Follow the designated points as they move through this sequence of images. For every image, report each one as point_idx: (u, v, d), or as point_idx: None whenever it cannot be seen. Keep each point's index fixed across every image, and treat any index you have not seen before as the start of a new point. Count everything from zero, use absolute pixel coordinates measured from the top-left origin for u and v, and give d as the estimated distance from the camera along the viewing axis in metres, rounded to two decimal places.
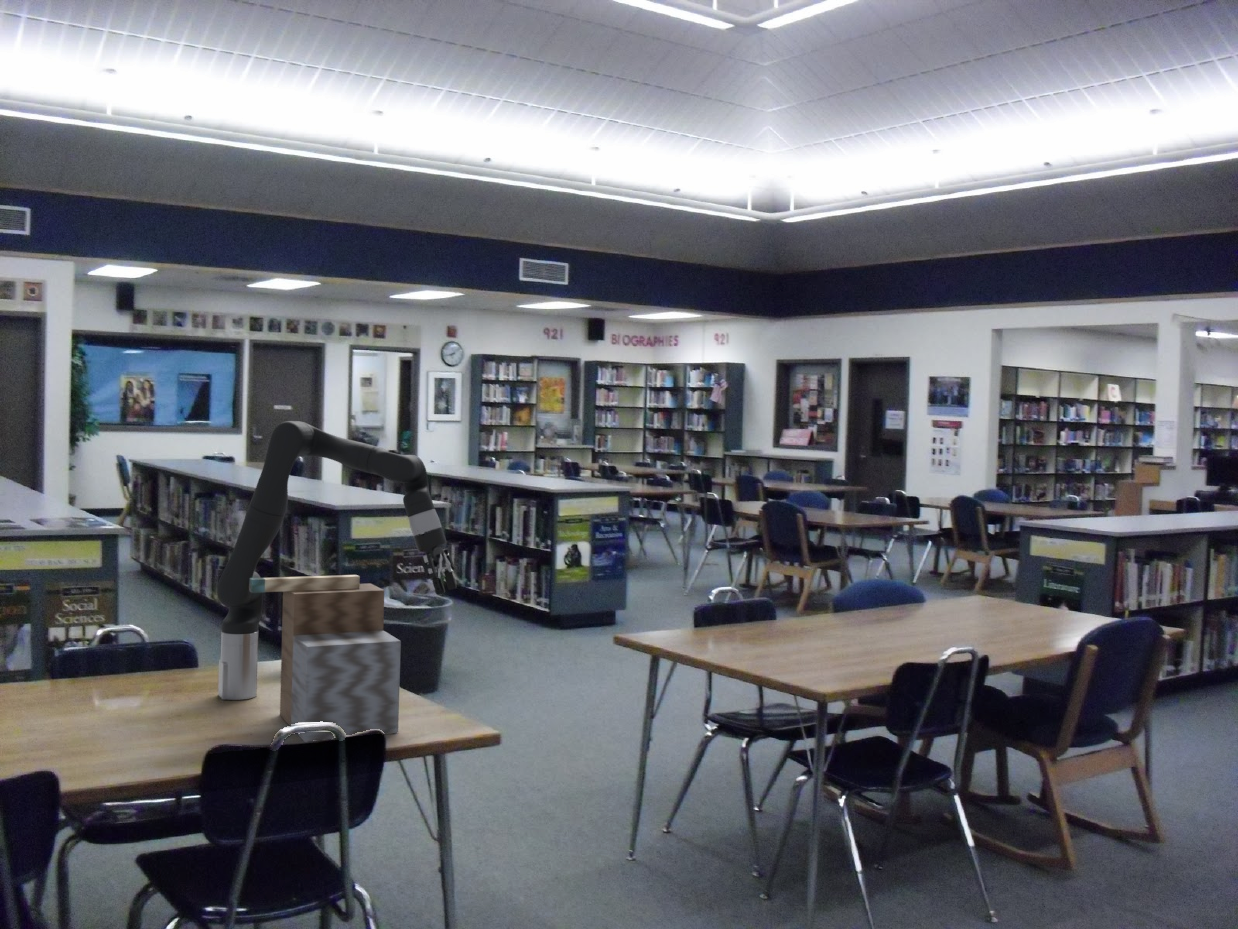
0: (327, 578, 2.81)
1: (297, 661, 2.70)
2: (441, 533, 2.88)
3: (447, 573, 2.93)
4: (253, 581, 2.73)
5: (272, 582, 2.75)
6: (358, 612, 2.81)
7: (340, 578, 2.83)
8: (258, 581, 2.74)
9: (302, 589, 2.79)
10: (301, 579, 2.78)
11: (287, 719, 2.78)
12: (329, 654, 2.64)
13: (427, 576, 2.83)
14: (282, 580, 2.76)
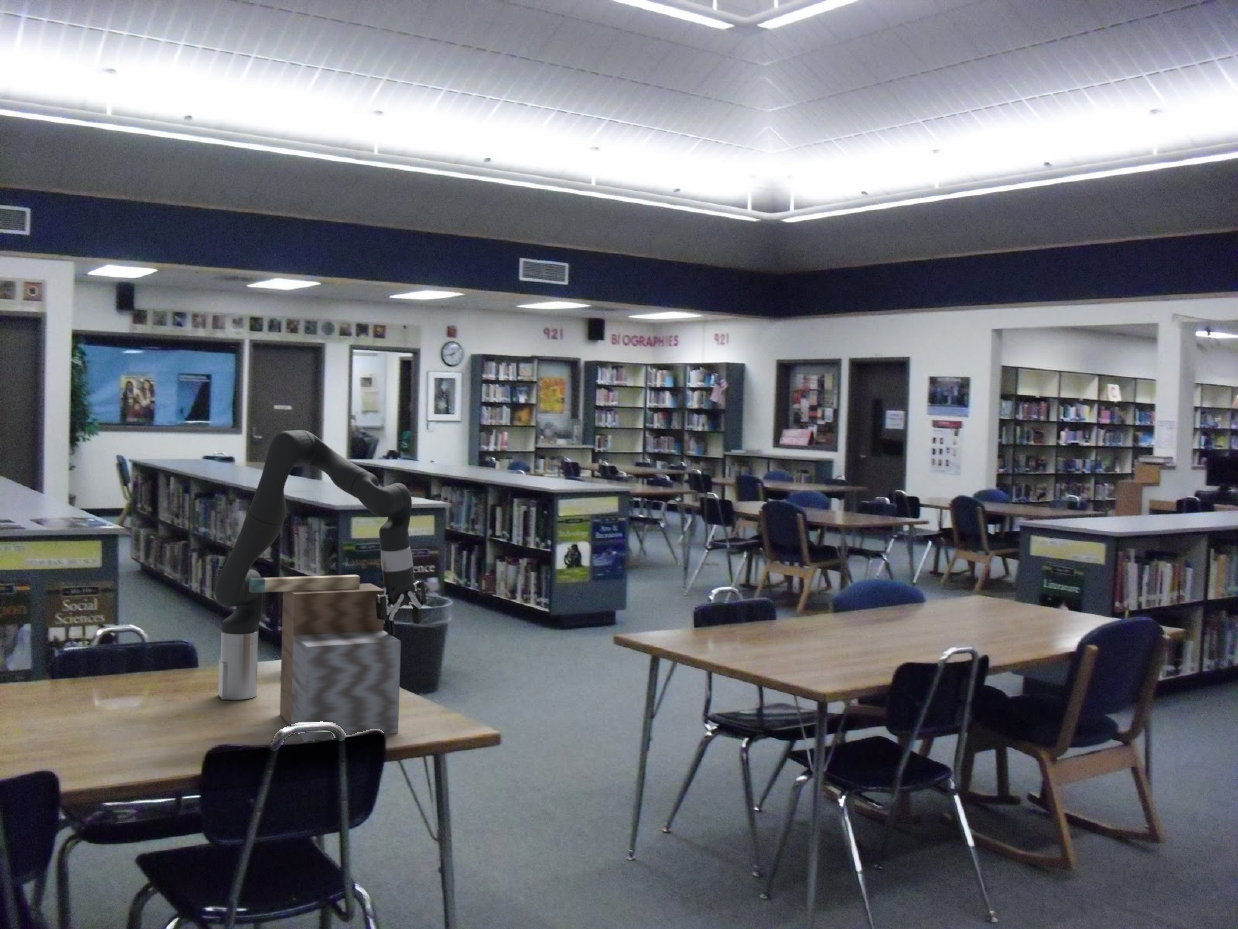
0: (327, 578, 2.81)
1: (297, 661, 2.70)
2: (406, 575, 2.77)
3: (414, 607, 2.85)
4: (253, 581, 2.73)
5: (272, 582, 2.75)
6: (358, 612, 2.81)
7: (340, 578, 2.83)
8: (258, 581, 2.74)
9: (302, 589, 2.79)
10: (301, 579, 2.78)
11: (287, 719, 2.78)
12: (329, 654, 2.64)
13: (377, 616, 2.77)
14: (282, 580, 2.76)
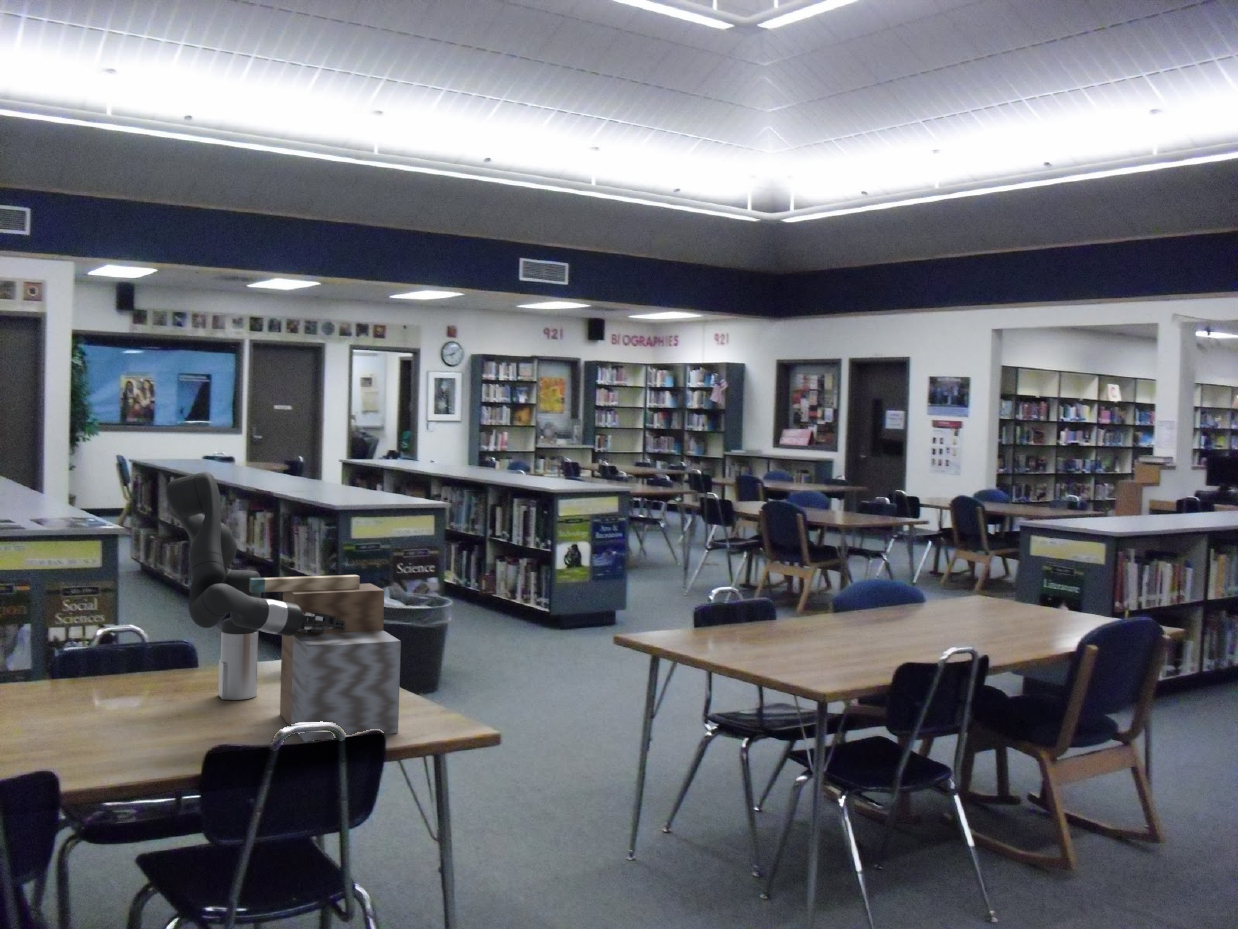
0: (327, 578, 2.81)
1: (297, 661, 2.70)
2: (279, 634, 2.62)
3: None
4: (253, 581, 2.73)
5: (272, 582, 2.75)
6: (358, 612, 2.81)
7: (340, 578, 2.83)
8: (258, 581, 2.74)
9: (302, 589, 2.79)
10: (301, 579, 2.78)
11: (287, 719, 2.78)
12: (329, 654, 2.64)
13: None
14: (282, 580, 2.76)
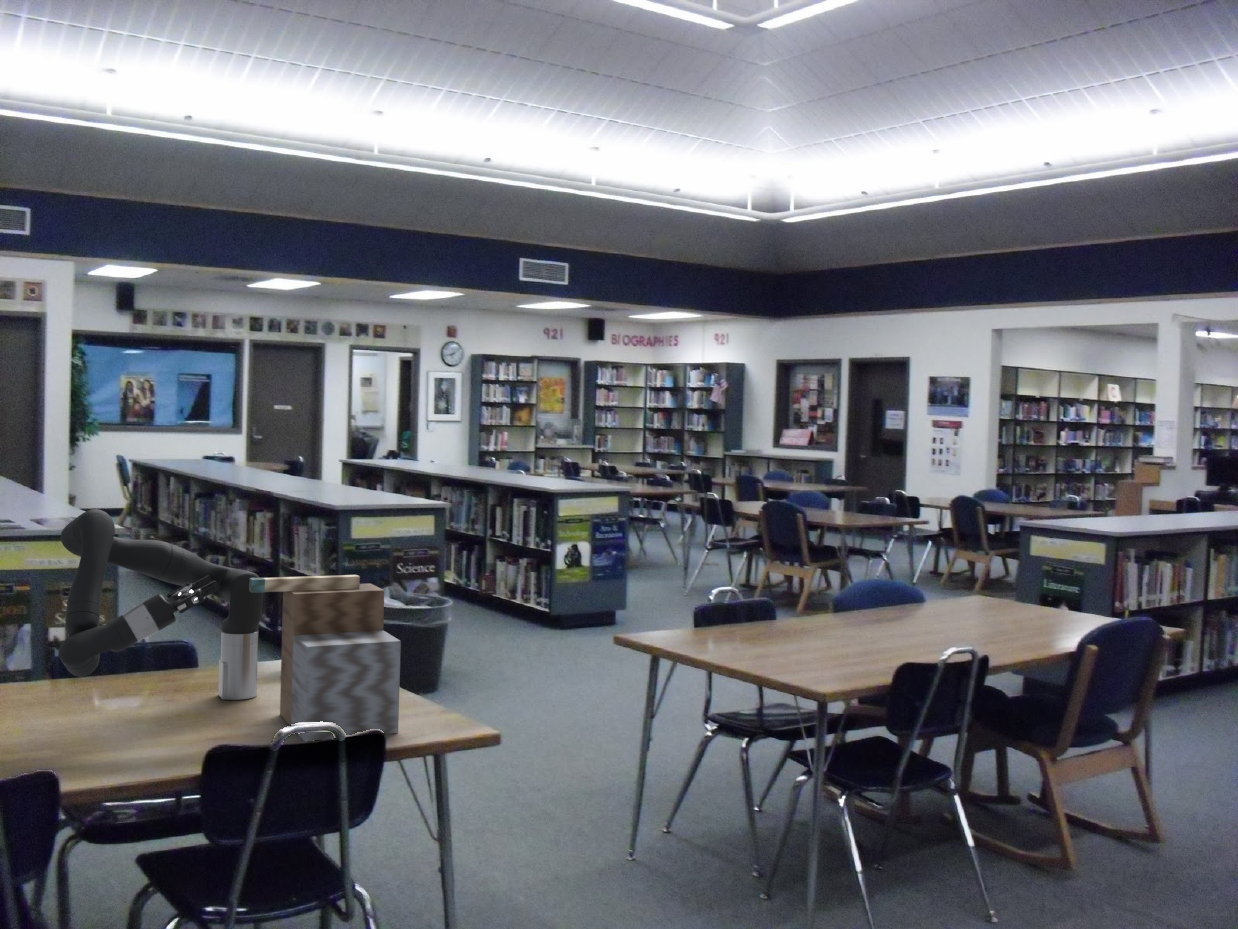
0: (327, 578, 2.81)
1: (297, 661, 2.70)
2: None
3: None
4: (253, 581, 2.73)
5: (272, 582, 2.75)
6: (358, 612, 2.81)
7: (340, 578, 2.83)
8: (258, 581, 2.74)
9: (302, 589, 2.79)
10: (301, 579, 2.78)
11: (287, 719, 2.78)
12: (329, 654, 2.64)
13: None
14: (282, 580, 2.76)
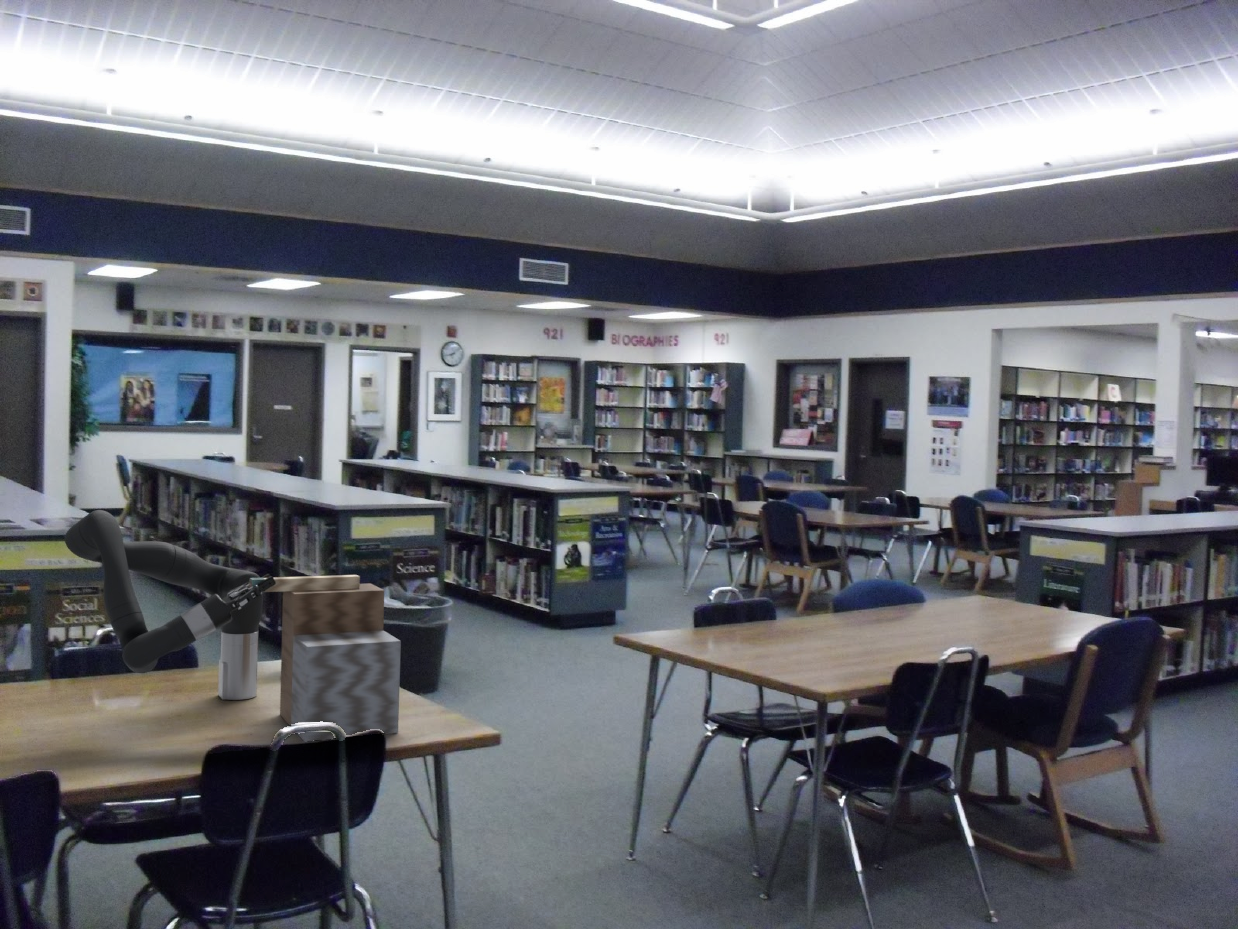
0: (327, 578, 2.81)
1: (297, 661, 2.70)
2: None
3: None
4: (253, 581, 2.73)
5: None
6: (358, 612, 2.81)
7: (340, 578, 2.83)
8: (258, 581, 2.74)
9: (302, 589, 2.79)
10: (301, 579, 2.78)
11: (287, 719, 2.78)
12: (329, 654, 2.64)
13: None
14: (282, 580, 2.76)
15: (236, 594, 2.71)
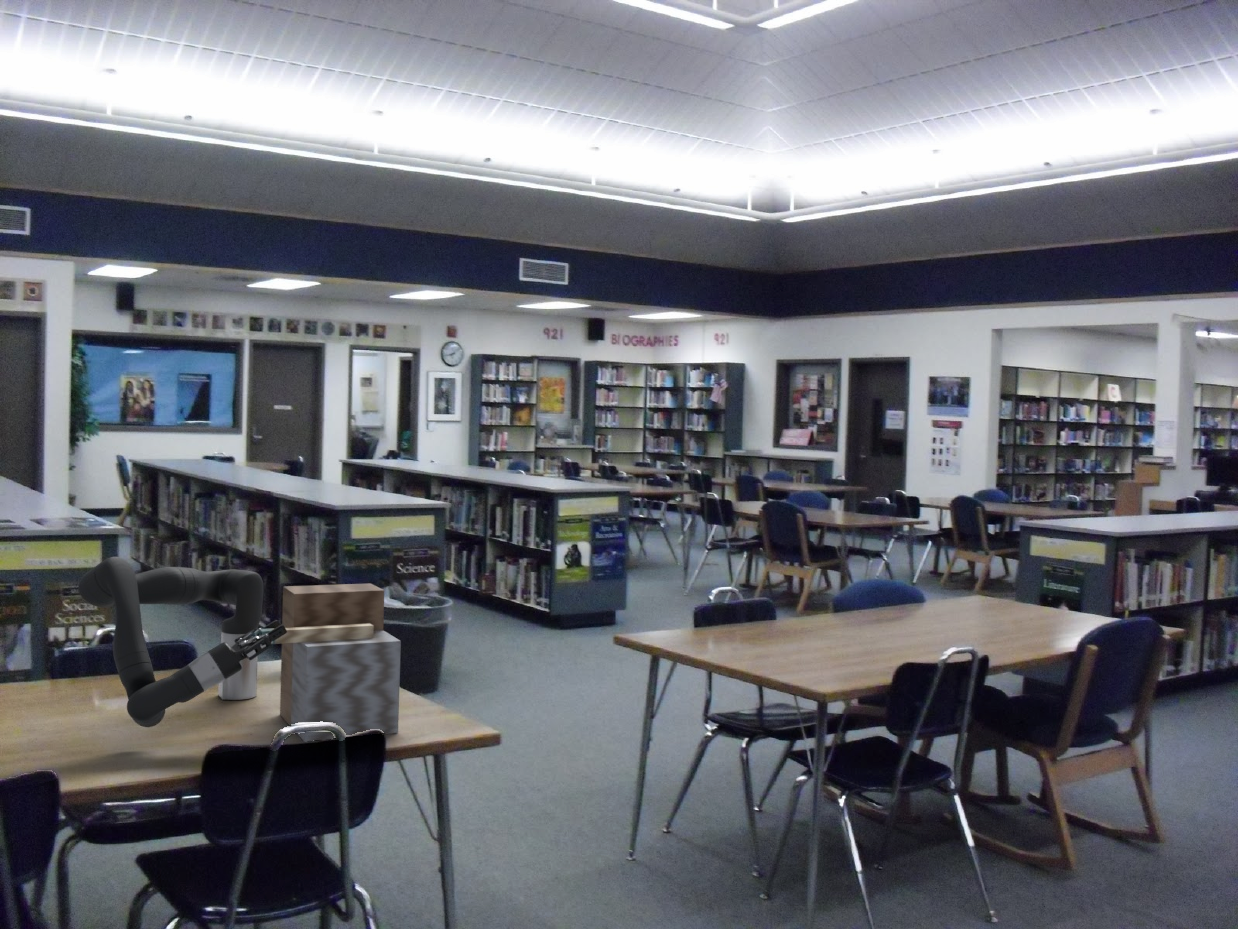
0: (340, 628, 2.70)
1: (297, 661, 2.70)
2: None
3: None
4: (263, 633, 2.62)
5: None
6: (358, 612, 2.81)
7: (353, 628, 2.72)
8: None
9: (314, 640, 2.68)
10: (313, 630, 2.67)
11: (287, 719, 2.78)
12: (329, 654, 2.64)
13: None
14: (293, 631, 2.65)
15: (246, 642, 2.60)
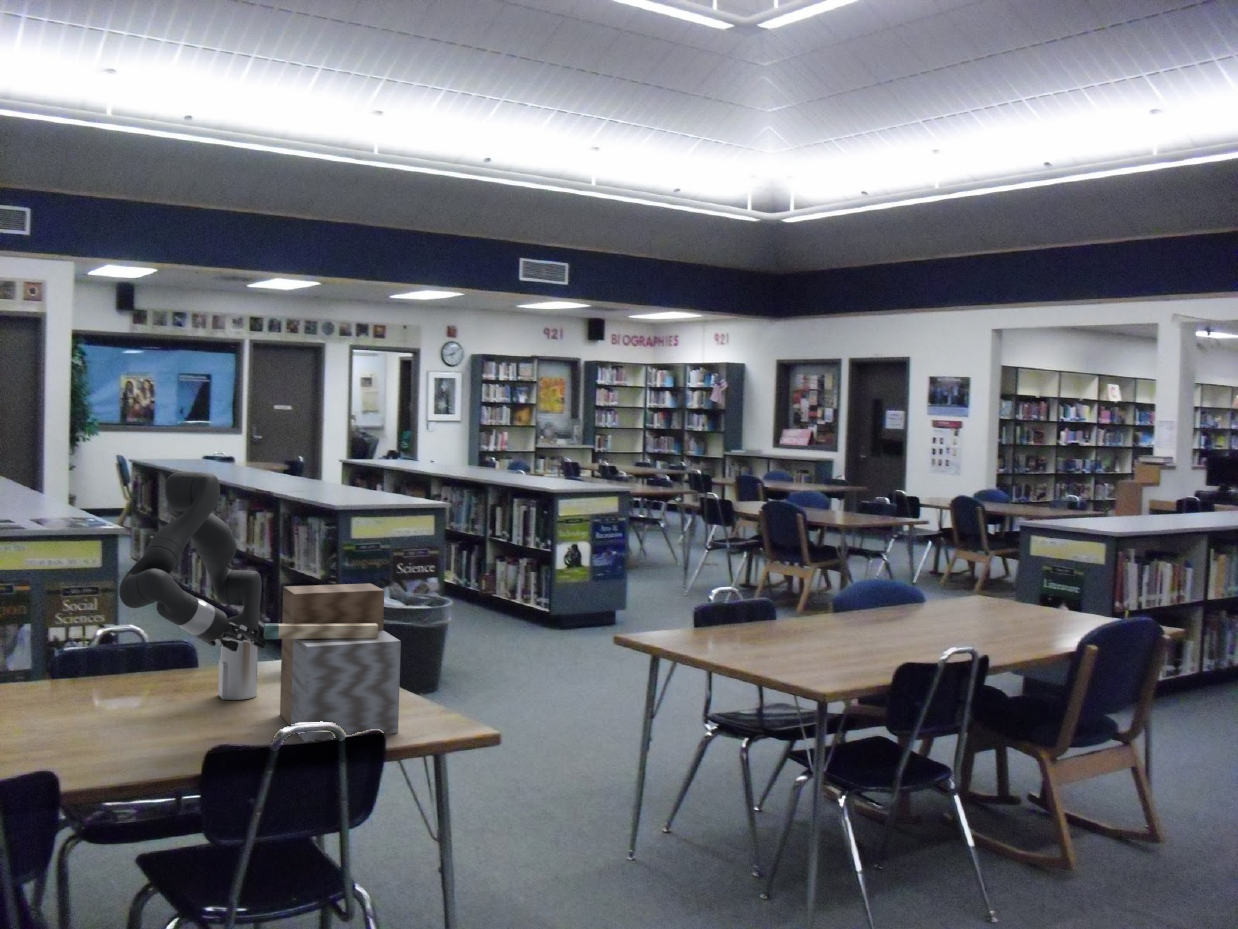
0: (344, 626, 2.71)
1: (297, 661, 2.70)
2: (199, 637, 2.55)
3: None
4: (266, 627, 2.65)
5: (286, 629, 2.66)
6: (358, 612, 2.81)
7: (357, 627, 2.73)
8: (271, 627, 2.65)
9: (317, 637, 2.69)
10: (316, 626, 2.69)
11: (287, 719, 2.78)
12: (329, 654, 2.64)
13: None
14: (297, 627, 2.67)
15: None
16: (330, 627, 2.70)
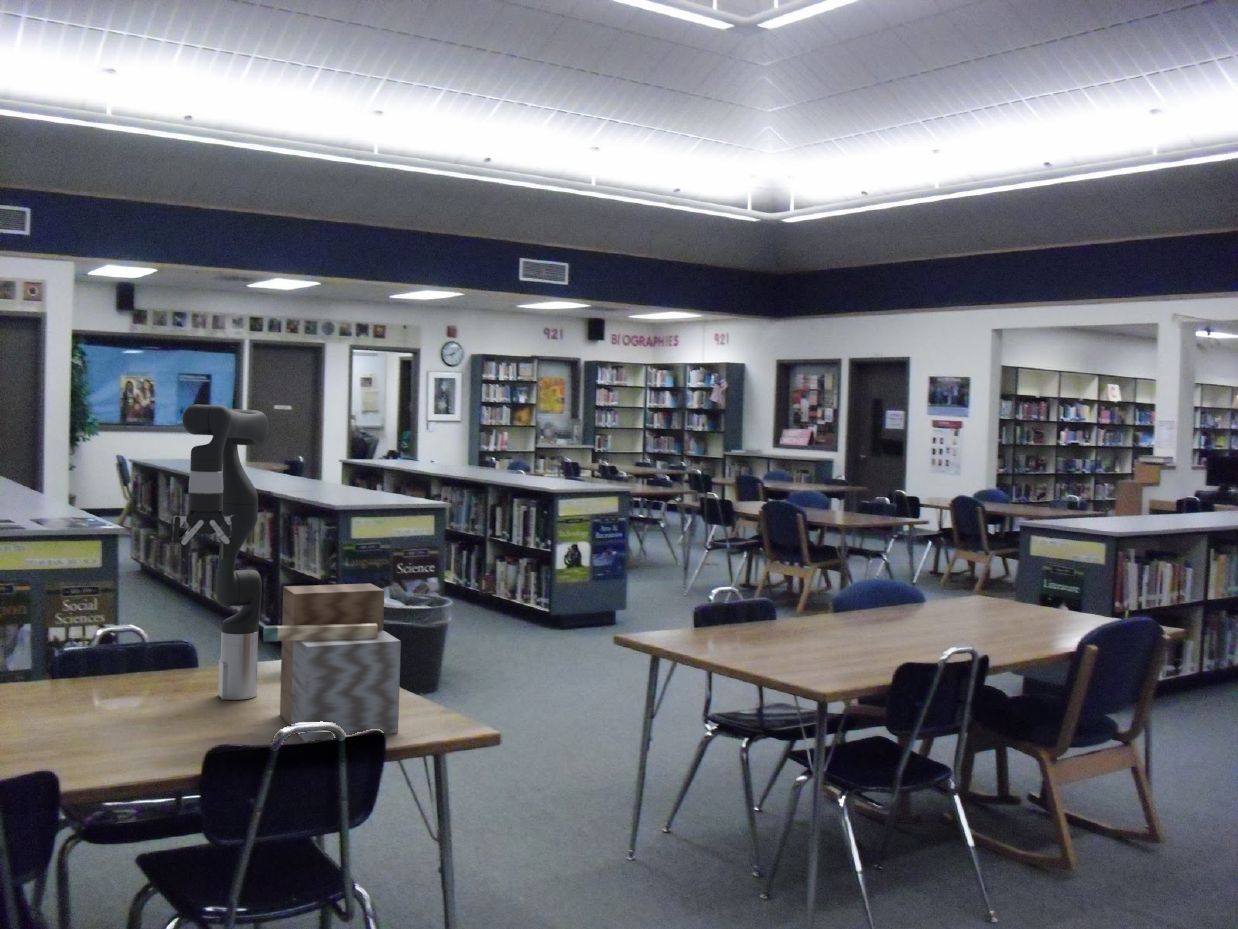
0: (343, 627, 2.72)
1: (297, 661, 2.70)
2: (205, 500, 2.63)
3: (223, 541, 2.69)
4: (265, 630, 2.66)
5: (285, 631, 2.67)
6: (358, 612, 2.81)
7: (357, 627, 2.73)
8: (270, 630, 2.66)
9: (317, 638, 2.70)
10: (315, 628, 2.70)
11: (287, 719, 2.78)
12: (329, 654, 2.64)
13: None
14: (296, 629, 2.68)
15: None
16: (329, 628, 2.71)
